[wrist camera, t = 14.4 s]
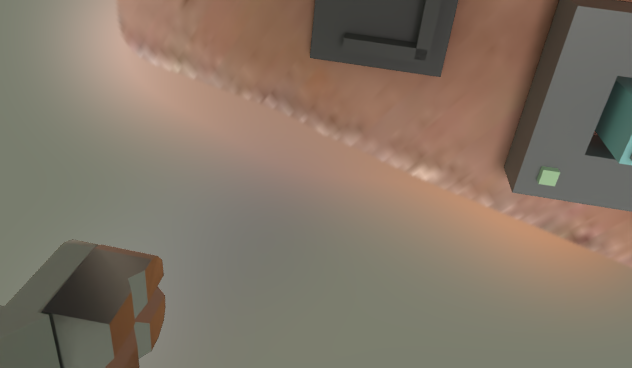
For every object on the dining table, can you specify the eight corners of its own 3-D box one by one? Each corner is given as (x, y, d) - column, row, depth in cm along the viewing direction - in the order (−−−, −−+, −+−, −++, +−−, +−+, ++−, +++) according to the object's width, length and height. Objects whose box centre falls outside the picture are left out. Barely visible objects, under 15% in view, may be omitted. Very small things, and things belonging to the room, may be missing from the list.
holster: (326, -89, 36) (321, -86, 34) (472, -70, 36) (477, -66, 34) (311, 53, 42) (306, 64, 39) (439, 72, 41) (441, 83, 39)
